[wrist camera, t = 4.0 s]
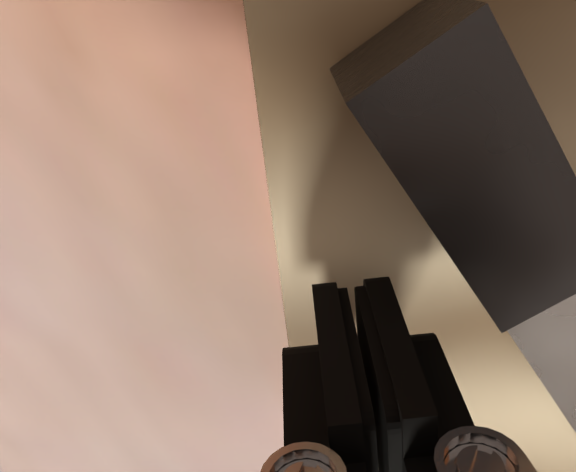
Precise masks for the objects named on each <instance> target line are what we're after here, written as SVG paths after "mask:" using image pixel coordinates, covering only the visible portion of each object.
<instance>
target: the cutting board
mask: <svg viewBox="0 0 576 472" xmlns="http://www.w3.org/2000/svg"><path fill="white" fill-rule="evenodd" d="M420 1H422V0H243V4H244V12H245V19H246V27H247V34H248V42H249V49H250V57H251V64H252V72H253V80H254V87H255V95H256V102H257V110H258V117H259V125H260V133H261V140H262V148H263V155H264V163H265V170H266V178H267V185H268V193H269V201H270V208H271V216H272V223H273V231H274V238H275V246H276V254H277V261H278V269H279V276H280V284H281V291H282V299H283V306H284V314H285V322H286V329H287V337H288V344H289V347H298V346H307V345H317V344H318V339H317V329H316V320H315V311H314V302H313V292H312V284H321V283H330V282H336V283H337V288H346V287H347V290H348V295H349V299H350V304H351V309H352V313H353V318H354V323H355V327H356V332H357V323H356V308H355V292H354V287H356V286H363V279H368V278H378V277H387V276H388V277H389V278H390V280H391V283H392V286H393V288H394V291H395V294H396V297H397V300H398V303H399V306H400V308H401V311H402V314H403V317H404V320H405V323H406V325H407V328H408V331H409V334H410V335H415V334H425V333H434V334H436V336H437V338H438V340H439V342H440V345H441V347H442V349H443V352H444V354H445V356H446V359H447V361H448V364H449V366H450V368H451V371H452V373H453V375H454V378H455V380H456V382H457V385H458V387H459V390H460V392H461V394H462V397H463V399H464V401H465V404H466V406H467V408H468V411H469V413H470V416H471V418H472V420H473V423H474V425H475V426H479V427H486V428H490V429H492V430H495V431H498V432H500V433H502V434H504V435H505V436H507V437H508V438H510V439H512V440H513V441H514V442H515V443H516V444H517V445H518V446H519V447H520V448H521V449H522V451H523V452H524V453H525V455H526V456H527V457H528V459H529V460H530V462H531V463H532V465H533V466H534V468H535V469H536V470H537V472H576V432H575V431H574V429H573V428H572V426H571V425H570V423H569V422H568V421H567V419H566V418H565V416H564V415H563V413H562V412H561V410H560V409H559V407H558V406H557V404H556V403H555V401H554V400H553V398H552V397H551V395H550V394H549V392H548V391H547V389H546V388H545V386H544V385H543V383H542V382H541V380H540V379H539V377H538V376H537V374H536V373H535V371H534V370H533V368H532V367H531V365H530V364H529V362H528V361H527V359H526V358H525V356H524V355H523V354H522V352H521V351H520V349H519V348H518V346H517V345H516V343H515V342H514V340H513V339H512V337H511V336H510V334H509V333H508V331H505V332H503V333H501V331H500V330H499V329H498V327H497V326H496V324H495V323H494V321H493V320H492V318H491V317H490V315H489V314H488V312H487V311H486V309H485V308H484V306H483V305H482V304H481V302H480V301H479V299H478V298H477V296H476V295H475V293H474V292H473V290H472V289H471V287H470V286H469V284H468V283H467V281H466V280H465V278H464V277H463V276H462V274H461V273H460V271H459V270H458V268H457V267H456V265H455V264H454V262H453V261H452V259H451V258H450V256H449V255H448V253H447V252H446V251H445V249H444V248H443V246H442V245H441V243H440V242H439V240H438V239H437V237H436V236H435V234H434V233H433V231H432V230H431V228H430V227H429V226H428V224H427V223H426V221H425V220H424V218H423V217H422V215H421V214H420V212H419V211H418V209H417V208H416V206H415V205H414V203H413V202H412V201H411V199H410V198H409V196H408V195H407V193H406V192H405V190H404V189H403V187H402V186H401V184H400V183H399V181H398V180H397V178H396V177H395V175H394V174H393V173H392V171H391V170H390V168H389V167H388V165H387V164H386V162H385V161H384V159H383V158H382V156H381V155H380V153H379V152H378V150H377V149H376V148H375V146H374V145H373V143H372V142H371V140H370V139H369V137H368V136H367V134H366V133H365V131H364V130H363V128H362V127H361V125H360V124H359V123H358V121H357V120H356V118H355V117H354V115H353V114H352V112H351V111H350V109H349V108H348V106H347V105H346V103H345V101H344V99H343V97H342V95H341V93H340V91H339V88H338V86H337V84H336V82H335V80H334V78H333V76H332V74H331V71H330V69H329V68H331V67H332V66H333V65H335V64H336V63H337V62H339V61H340V60H341V59H343V58H344V57H346V56H347V55H348V54H350V53H351V52H352V51H354V50H355V49H356V48H358V47H359V46H360V45H362V44H363V43H365V42H366V41H367V40H369V39H370V38H371V37H373V36H374V35H375V34H377V33H378V32H380V31H381V30H382V29H384V28H385V27H386V26H388V25H389V24H390V23H392V22H393V21H395V20H396V19H397V18H399V17H400V16H401V15H403V14H404V13H405V12H407V11H408V10H409V9H411V8H412V7H414V6H415V5H416V4H418V3H419V2H420ZM477 1H481V2H486V3H488V5H489V7H490V9H491V11H492V13H493V15H494V17H495V19H496V21H497V23H498V25H499V27H500V29H501V31H502V33H503V35H504V37H505V39H506V40H507V42H508V44H509V46H510V48H511V50H512V52H513V54H514V56H515V58H516V60H517V62H518V64H519V66H520V68H521V70H522V72H523V74H524V76H525V78H526V80H527V82H528V84H529V85H530V87H531V89H532V91H533V93H534V95H535V97H536V99H537V101H538V103H539V105H540V107H541V109H542V111H543V113H544V115H545V117H546V119H547V121H548V123H549V125H550V127H551V129H552V131H553V132H554V134H555V136H556V138H557V140H558V142H559V144H560V146H561V148H562V150H563V152H564V154H565V156H566V158H567V160H568V162H569V164H570V166H571V168H572V170H573V172H574V174H575V176H576V0H477Z"/></svg>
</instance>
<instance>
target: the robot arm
mask: <svg viewBox="0 0 576 472" xmlns="http://www.w3.org/2000/svg"><path fill="white" fill-rule="evenodd" d="M312 292H313V302H314V311H315V320H316V329H317V339H318V344H317V345H307V346H298V347H288V348H283V350H282V361H283V418H284V447H282V448H280V449H279V450H277V451H276V452H274V453H273V454H272V455H271V456H270V457H269V458H268V459H267V461H266V462H265V463H264V464H263V466H262V469H261V472H537V470H536V469H535V468H534V466H533V465H532V463H531V462H530V460H529V459H528V457H527V456H526V455H525V453H524V452H523V451H522V449H521V448H520V447H519V446H518V445H517V444H516V443H515V442H514V441H513V440H512V439H510V438H508V437H507V436H505V435H504V434H502V433H500V432H498V431H495V430H492V429H490V428H486V427H479V426H475V425H474V423H473V420H472V418H471V416H470V413H469V411H468V408H467V406H466V404H465V401H464V399H463V397H462V394H461V392H460V390H459V387H458V385H457V382H456V380H455V378H454V375H453V373H452V371H451V368H450V366H449V364H448V361H447V359H446V356H445V354H444V352H443V349H442V347H441V345H440V342H439V340H438V338H437V336H436V334H434V333H425V334H415V335H410V334H409V331H408V328H407V325H406V323H405V320H404V317H403V314H402V311H401V308H400V306H399V303H398V300H397V297H396V294H395V291H394V288H393V286H392V283H391V280H390V278H389V277H388V276H387V277H378V278H368V279H363V286H356V287H354V292H355V308H356V323H357V332H356V327H355V323H354V318H353V313H352V309H351V304H350V299H349V295H348V290H347V287H346V288H337V283H336V282H330V283H321V284H312Z"/></svg>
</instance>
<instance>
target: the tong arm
mask: <svg viewBox="0 0 576 472" xmlns="http://www.w3.org/2000/svg"><path fill="white" fill-rule="evenodd" d="M329 69H330V71H331V74H332V76H333V78H334V80H335V82H336V84H337V86H338V88H339V91H340V93H341V95H342V97H343V99H344V101H345V103H346V105H347V106H348V108H349V109H350V111H351V112H352V114H353V115H354V117H355V118H356V120H357V121H358V123H359V124H360V125H361V127H362V128H363V130H364V131H365V133H366V134H367V136H368V137H369V139H370V140H371V142H372V143H373V145H374V146H375V148H376V149H377V150H378V152H379V153H380V155H381V156H382V158H383V159H384V161H385V162H386V164H387V165H388V167H389V168H390V170H391V171H392V173H393V174H394V175H395V177H396V178H397V180H398V181H399V183H400V184H401V186H402V187H403V189H404V190H405V192H406V193H407V195H408V196H409V198H410V199H411V201H412V202H413V203H414V205H415V206H416V208H417V209H418V211H419V212H420V214H421V215H422V217H423V218H424V220H425V221H426V223H427V224H428V226H429V227H430V228H431V230H432V231H433V233H434V234H435V236H436V237H437V239H438V240H439V242H440V243H441V245H442V246H443V248H444V249H445V251H446V252H447V253H448V255H449V256H450V258H451V259H452V261H453V262H454V264H455V265H456V267H457V268H458V270H459V271H460V273H461V274H462V276H463V277H464V278H465V280H466V281H467V283H468V284H469V286H470V287H471V289H472V290H473V292H474V293H475V295H476V296H477V298H478V299H479V301H480V302H481V304H482V305H483V306H484V308H485V309H486V311H487V312H488V314H489V315H490V317H491V318H492V320H493V321H494V323H495V324H496V326H497V327H498V329H499V330H500V331H501V333H503V332H505V331H508V333H509V334H510V336H511V337H512V339H513V340H514V342H515V343H516V345H517V346H518V348H519V349H520V351H521V352H522V354H523V355H524V356H525V358H526V359H527V361H528V362H529V364H530V365H531V367H532V368H533V370H534V371H535V373H536V374H537V376H538V377H539V379H540V380H541V382H542V383H543V385H544V386H545V388H546V389H547V391H548V392H549V394H550V395H551V397H552V398H553V400H554V401H555V403H556V404H557V406H558V407H559V409H560V410H561V412H562V413H563V415H564V416H565V418H566V419H567V421H568V422H569V423H570V425H571V426H572V428H573V429H574V431H575V432H576V176H575V174H574V172H573V170H572V168H571V166H570V164H569V162H568V160H567V158H566V156H565V154H564V152H563V150H562V148H561V146H560V144H559V142H558V140H557V138H556V136H555V134H554V132H553V131H552V129H551V127H550V125H549V123H548V121H547V119H546V117H545V115H544V113H543V111H542V109H541V107H540V105H539V103H538V101H537V99H536V97H535V95H534V93H533V91H532V89H531V87H530V85H529V84H528V82H527V80H526V78H525V76H524V74H523V72H522V70H521V68H520V66H519V64H518V62H517V60H516V58H515V56H514V54H513V52H512V50H511V48H510V46H509V44H508V42H507V40H506V39H505V37H504V35H503V33H502V31H501V29H500V27H499V25H498V23H497V21H496V19H495V17H494V15H493V13H492V11H491V9H490V7H489V5H488V3H486V2H481V1H477V0H422V1H420V2H419V3H418V4H416V5H415V6H414V7H412V8H411V9H409V10H408V11H407V12H405V13H404V14H403V15H401V16H400V17H399V18H397V19H396V20H395V21H393V22H392V23H390V24H389V25H388V26H386V27H385V28H384V29H382V30H381V31H380V32H378V33H377V34H375V35H374V36H373V37H371V38H370V39H369V40H367V41H366V42H365V43H363V44H362V45H360V46H359V47H358V48H356V49H355V50H354V51H352V52H351V53H350V54H348V55H347V56H346V57H344V58H343V59H341V60H340V61H339V62H337V63H336V64H335V65H333V66H332V67H331V68H329Z"/></svg>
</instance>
